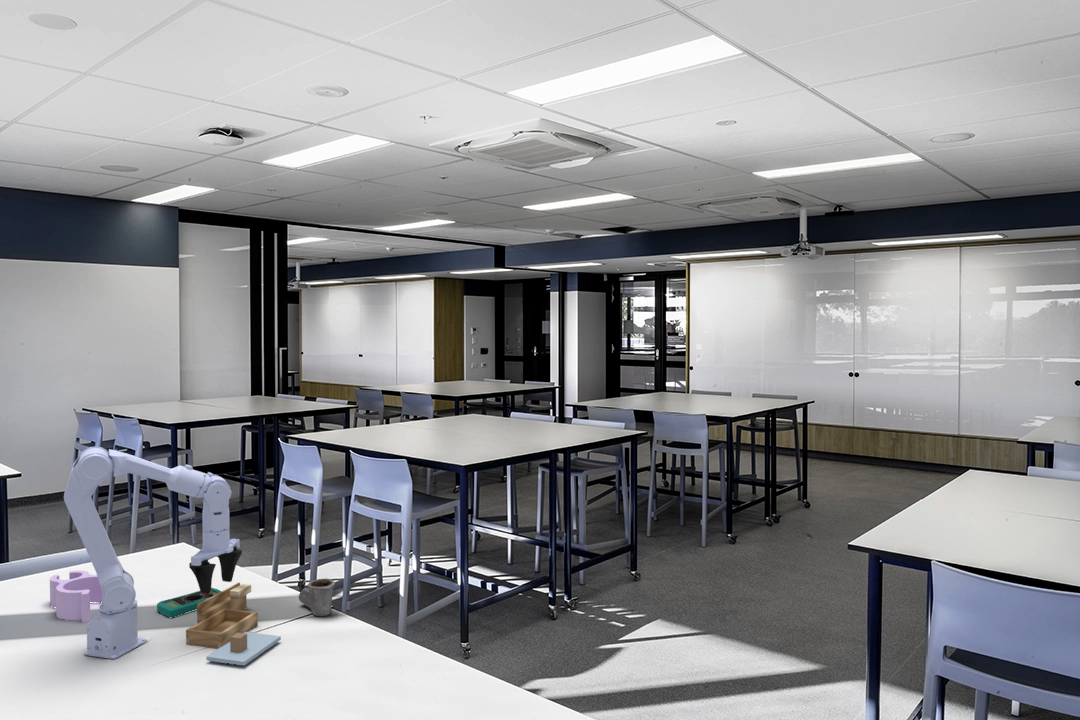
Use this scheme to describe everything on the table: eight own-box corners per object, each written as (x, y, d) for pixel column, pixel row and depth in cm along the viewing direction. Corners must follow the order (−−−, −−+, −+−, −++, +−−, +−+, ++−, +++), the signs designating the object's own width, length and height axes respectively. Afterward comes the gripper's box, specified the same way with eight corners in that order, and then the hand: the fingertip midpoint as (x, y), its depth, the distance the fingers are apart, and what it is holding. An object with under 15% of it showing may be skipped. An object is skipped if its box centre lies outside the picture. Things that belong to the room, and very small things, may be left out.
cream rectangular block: (238, 599, 178) (238, 591, 178) (229, 598, 178) (229, 590, 178) (251, 591, 183) (251, 584, 183) (242, 590, 183) (242, 583, 183)
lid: (244, 670, 152) (243, 646, 152) (206, 665, 154) (206, 641, 154) (280, 644, 165) (280, 622, 164) (245, 639, 167) (245, 617, 166)
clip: (35, 607, 183) (35, 579, 183) (89, 592, 194) (88, 566, 193) (73, 626, 172) (72, 597, 172) (128, 610, 182) (127, 582, 182)
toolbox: (221, 648, 161) (221, 620, 161) (177, 643, 163) (176, 615, 163) (278, 612, 182) (278, 586, 181) (238, 607, 184) (238, 582, 184)
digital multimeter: (228, 603, 188) (228, 591, 188) (169, 620, 177) (169, 608, 177) (213, 596, 193) (213, 585, 193) (155, 613, 181) (155, 601, 181)
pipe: (313, 601, 189) (313, 570, 189) (340, 615, 180) (340, 583, 180) (291, 608, 184) (291, 576, 184) (318, 622, 176) (318, 589, 175)
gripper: (210, 539, 162) (210, 599, 163) (250, 522, 176) (250, 578, 177) (182, 536, 164) (183, 596, 165) (225, 520, 178) (225, 575, 179)
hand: (216, 586), depth 171 cm, fingers open, 7 cm apart
